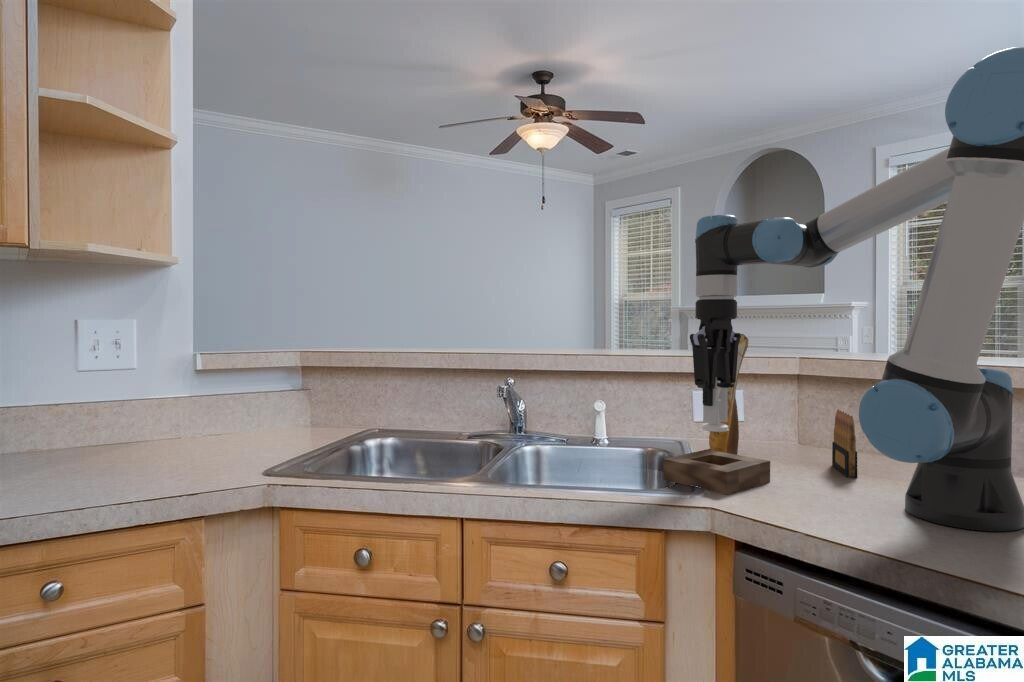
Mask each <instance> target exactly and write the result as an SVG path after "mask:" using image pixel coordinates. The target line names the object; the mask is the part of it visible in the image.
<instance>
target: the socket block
mask: <svg viewBox="0 0 1024 682" xmlns="http://www.w3.org/2000/svg"><path fill="white" fill-rule="evenodd" d="M662 463H663V464H662V466H663V467H662V469H663V472H662V473H663V474H662V475H663V476H662V477H663V479H662V480H664V481H668V482H672V483H676V484H680V485H685V486H688V485H693V486H698V487H701V488H703V489H702V490H706V491H709V492H710V491H711V492H715V493H719V494H721V495H722V494H723V495H726V496H729V495H731V494H734V493H739V492H741V491H745V490H748V489H750V488H753V487H754V488H755V487H757V486H762V485H765V484H767V483H770V482H771V460H768V459H761V458H756V457H751V456H746V455H740V454H737V455H735V454H729V453H724V452H718V451H713V450H710V449H703V450H698V451H694V452H689V453H684V454H679V455H675V456H670V457H665V458H663V460H662ZM693 486H692V487H693ZM701 488H700V489H701Z"/></svg>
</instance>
